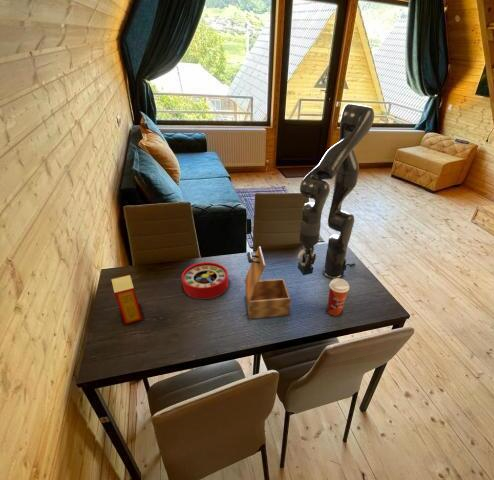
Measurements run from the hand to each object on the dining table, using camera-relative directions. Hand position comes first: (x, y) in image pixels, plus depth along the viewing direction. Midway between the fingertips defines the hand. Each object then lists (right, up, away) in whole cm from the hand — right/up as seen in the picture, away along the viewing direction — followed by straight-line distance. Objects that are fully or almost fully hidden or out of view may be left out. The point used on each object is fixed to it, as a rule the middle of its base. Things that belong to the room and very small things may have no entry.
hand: (306, 266), depth 131 cm
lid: (-21, -3, -7) cm, 22 cm away
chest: (-17, -17, +5) cm, 24 cm away
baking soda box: (-70, -20, -5) cm, 73 cm away
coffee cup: (+13, -19, +5) cm, 24 cm away
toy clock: (-45, -8, +14) cm, 48 cm away
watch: (0, -2, +2) cm, 3 cm away
